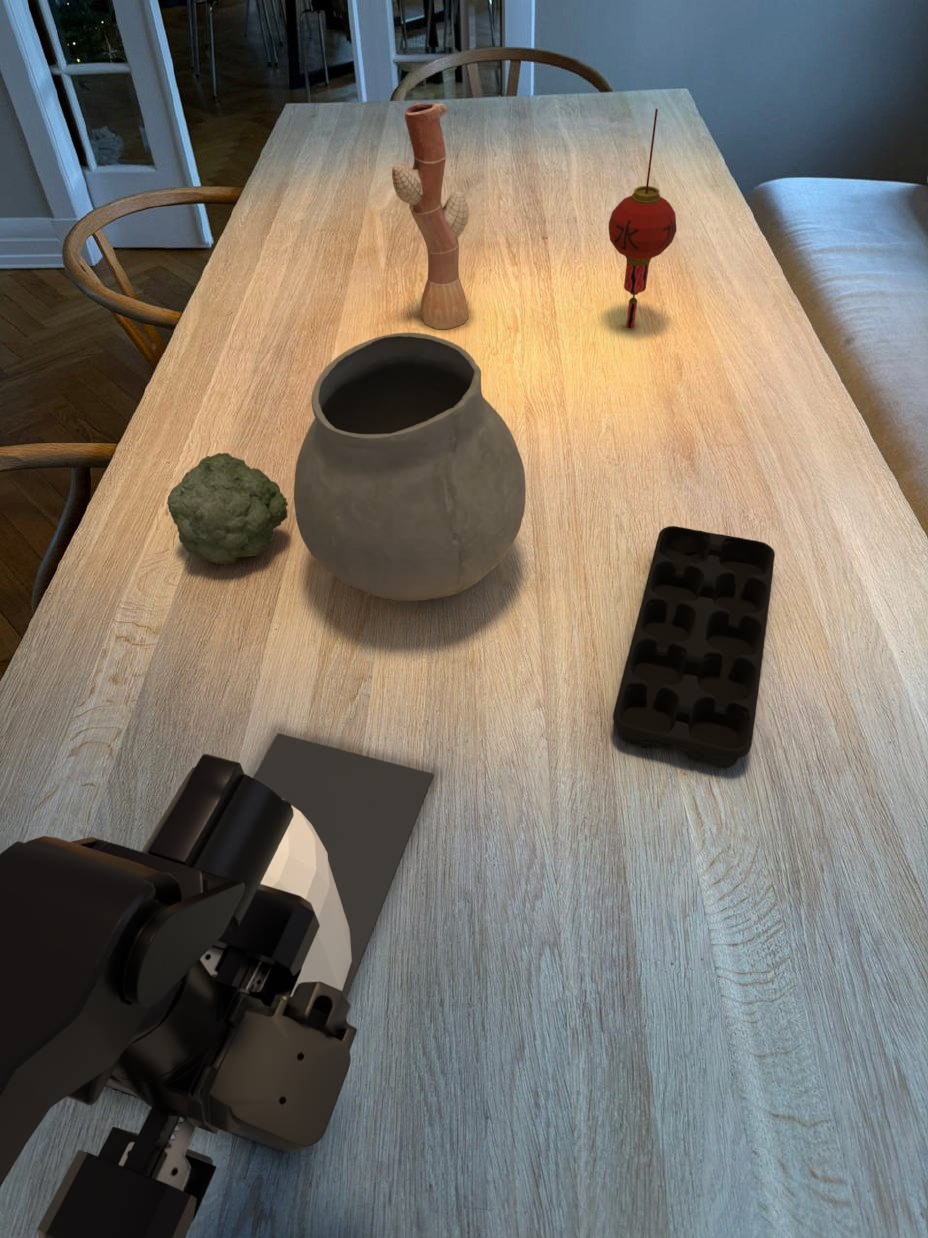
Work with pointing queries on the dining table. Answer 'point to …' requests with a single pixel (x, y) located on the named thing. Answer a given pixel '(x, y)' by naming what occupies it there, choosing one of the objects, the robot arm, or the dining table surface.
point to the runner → (347, 827)
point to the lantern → (641, 234)
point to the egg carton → (698, 647)
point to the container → (313, 901)
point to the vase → (434, 216)
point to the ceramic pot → (407, 471)
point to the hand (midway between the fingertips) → (231, 1100)
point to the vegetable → (226, 509)
